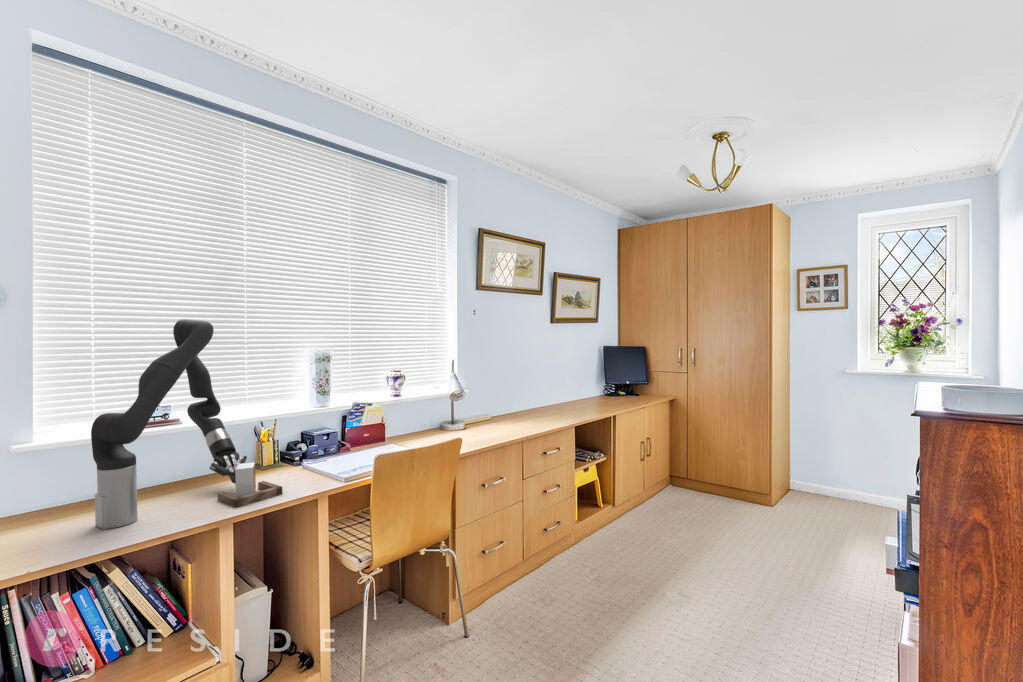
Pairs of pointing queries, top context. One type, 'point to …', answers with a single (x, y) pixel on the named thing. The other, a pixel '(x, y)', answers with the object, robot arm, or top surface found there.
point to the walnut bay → (251, 495)
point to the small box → (245, 479)
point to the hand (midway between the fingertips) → (237, 482)
